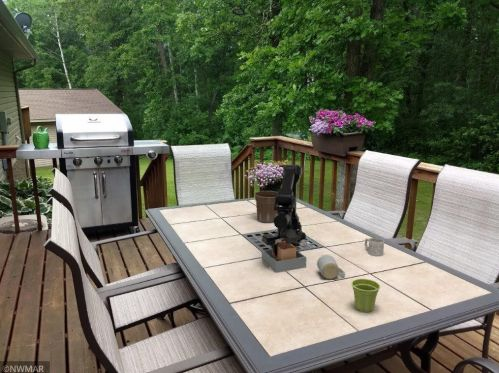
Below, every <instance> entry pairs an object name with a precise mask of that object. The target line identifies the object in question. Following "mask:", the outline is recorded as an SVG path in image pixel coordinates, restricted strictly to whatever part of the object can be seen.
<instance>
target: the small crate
mask: <svg viewBox="0 0 499 373" xmlns="http://www.w3.org/2000/svg"><path fill="white" fill-rule="evenodd" d="M277 244H278V246H277V258H276V257H275V255H274V252H273V250H272V256H273V257H274V258H275V259H276V260H278V261H282V260H288V259H294V258H296V250H297V246H296V247H295V246H293V245H292V244H287V243H286V241H284V240H281V241H277Z"/></svg>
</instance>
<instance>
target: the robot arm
mask: <svg viewBox="0 0 499 373" xmlns="http://www.w3.org/2000/svg"><path fill="white" fill-rule="evenodd" d="M282 168H283V169H282V174H283V175H284V176H283V180H282V185H281V188H279V189H278V190H277V192H278V193H277V195H276V196H275V204H274V210H277V215H276V217H275V218H274V223H273V225H274V227H276V228H277V231H276V232H275V234H276V235H273V234H271V233H268V234H263V235H262V237H261V242H262V243H264V244H265V245H266V246H270V247H271V249H272V250H273V252H274V255H275V257H276V258H277V246H278V244H277V242H278V241H286V243H287V244H292V245H293V246H295V247H296V248H297V246H301V242H302V241H305V240H307V233H306V232H304V231H303V228H302V225H303V224H301V221H300V216H299V215H298V213H297V197H298V196H297V195H298V193H297V192H298V182H299V181H300V179H301V176H302V175H303V167H302V166H301V165H299V164H286V165H284V166H283V167H282ZM277 203H278V204H277ZM277 205H278V206H277ZM276 206H277V208H276Z"/></svg>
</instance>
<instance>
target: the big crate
mask: <svg viewBox="0 0 499 373" xmlns="http://www.w3.org/2000/svg"><path fill="white" fill-rule="evenodd" d="M261 261H262V262H263V263H264V264H265V265H266V266H268V267H269V268H270V269H271V270H272V271H273V272H274V273H276V274H277V273H283V272H289V271H294V270H299V269H300V270H301V269H306V268H307V256H306V255H304V254H302V252H300V251H298V250H297V249H296V258H294V259H288V260H282V261H278V260H276V259H275V258H274V257H273V256H272V248H270V249H269V248H268V249H263V250H261Z"/></svg>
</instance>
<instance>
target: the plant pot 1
mask: <svg viewBox="0 0 499 373" xmlns="http://www.w3.org/2000/svg"><path fill="white" fill-rule="evenodd" d="M277 193H278V191H273V190H261V191H260V190H259V191H256V192H254V196H255V197H254V199H255V203H256V204H255V206H256V220H257V221H258V222H260V223H262V224H263V223H265V224H268V223H270V224H272V223H273V224H274V218H275V217H276V215H277V210H274V204H275V196H276V195H277ZM277 204H278V203H277ZM277 206H278V205H277ZM277 206H276V208H277Z"/></svg>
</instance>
